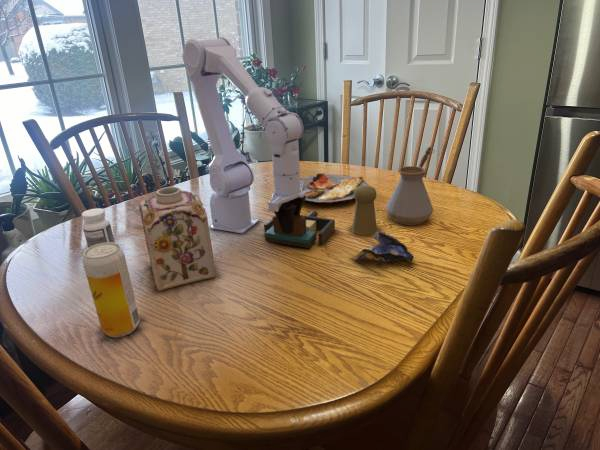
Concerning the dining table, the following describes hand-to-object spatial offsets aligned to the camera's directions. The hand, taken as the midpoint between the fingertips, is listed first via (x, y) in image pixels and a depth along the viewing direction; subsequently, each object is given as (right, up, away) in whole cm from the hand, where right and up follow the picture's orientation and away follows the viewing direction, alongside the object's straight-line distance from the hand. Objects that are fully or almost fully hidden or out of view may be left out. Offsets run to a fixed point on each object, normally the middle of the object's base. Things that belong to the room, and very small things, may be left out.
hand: (289, 229), depth 100 cm
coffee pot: (+32, +4, +14) cm, 36 cm away
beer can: (-28, -17, -25) cm, 41 cm away
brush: (0, -3, +1) cm, 3 cm away
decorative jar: (-22, -9, -9) cm, 25 cm away
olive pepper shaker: (+18, 0, +6) cm, 19 cm away
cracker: (+3, -1, +6) cm, 7 cm away
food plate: (+10, +10, +30) cm, 33 cm away
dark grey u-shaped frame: (+3, 0, +8) cm, 8 cm away
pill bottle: (-43, -5, +1) cm, 44 cm away
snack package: (+20, -6, -7) cm, 22 cm away
